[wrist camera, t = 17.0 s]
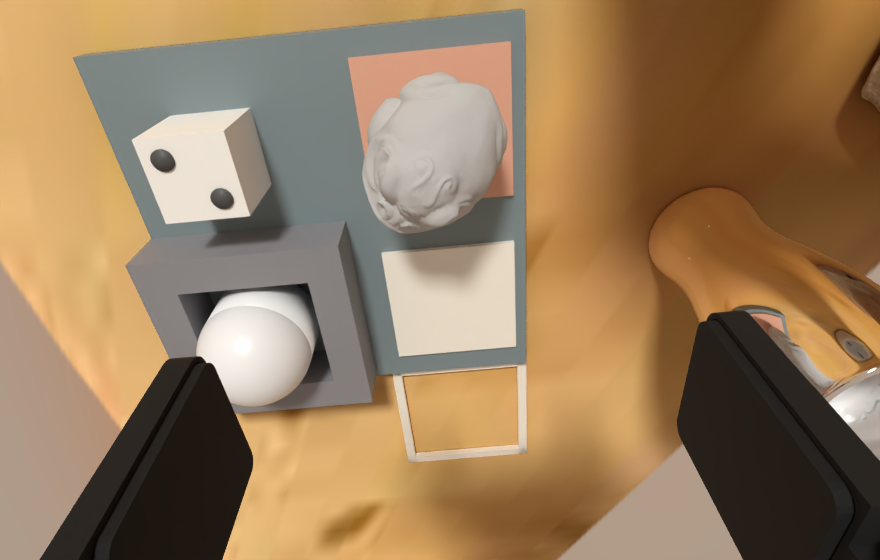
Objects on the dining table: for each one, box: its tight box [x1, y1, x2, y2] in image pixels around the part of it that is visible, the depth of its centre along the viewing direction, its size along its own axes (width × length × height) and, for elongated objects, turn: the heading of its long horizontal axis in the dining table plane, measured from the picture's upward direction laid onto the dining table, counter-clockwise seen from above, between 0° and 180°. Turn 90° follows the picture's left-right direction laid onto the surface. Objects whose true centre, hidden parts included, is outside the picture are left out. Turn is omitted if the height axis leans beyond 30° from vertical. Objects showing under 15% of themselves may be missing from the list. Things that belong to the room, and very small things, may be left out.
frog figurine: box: [362, 72, 507, 234], centre depth 23 cm, size 6×7×7 cm
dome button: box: [196, 284, 320, 406], centre depth 29 cm, size 6×6×6 cm
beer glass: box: [648, 187, 880, 460], centre depth 25 cm, size 7×7×15 cm
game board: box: [73, 9, 527, 463], centre depth 31 cm, size 31×21×5 cm
